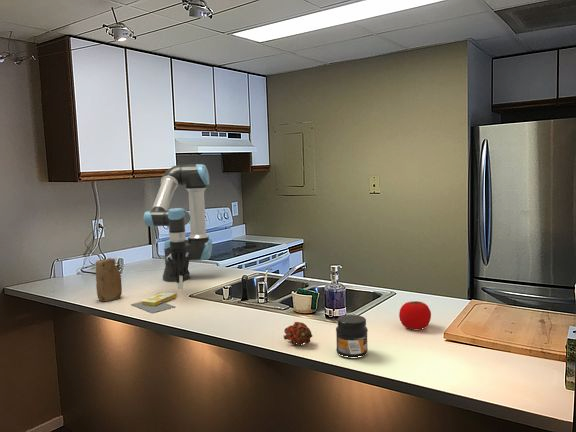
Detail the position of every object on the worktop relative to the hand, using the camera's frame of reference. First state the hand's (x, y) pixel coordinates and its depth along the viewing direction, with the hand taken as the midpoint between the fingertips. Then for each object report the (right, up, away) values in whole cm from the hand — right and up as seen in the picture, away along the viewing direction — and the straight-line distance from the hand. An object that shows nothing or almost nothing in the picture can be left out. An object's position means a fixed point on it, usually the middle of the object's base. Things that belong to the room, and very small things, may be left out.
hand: (180, 288), depth 237 cm
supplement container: (+74, -11, -72) cm, 103 cm away
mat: (-10, -7, -10) cm, 16 cm away
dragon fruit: (+55, -11, -62) cm, 83 cm away
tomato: (+101, -8, -48) cm, 112 cm away
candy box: (-5, -5, -4) cm, 8 cm away
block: (-35, -6, +4) cm, 36 cm away
